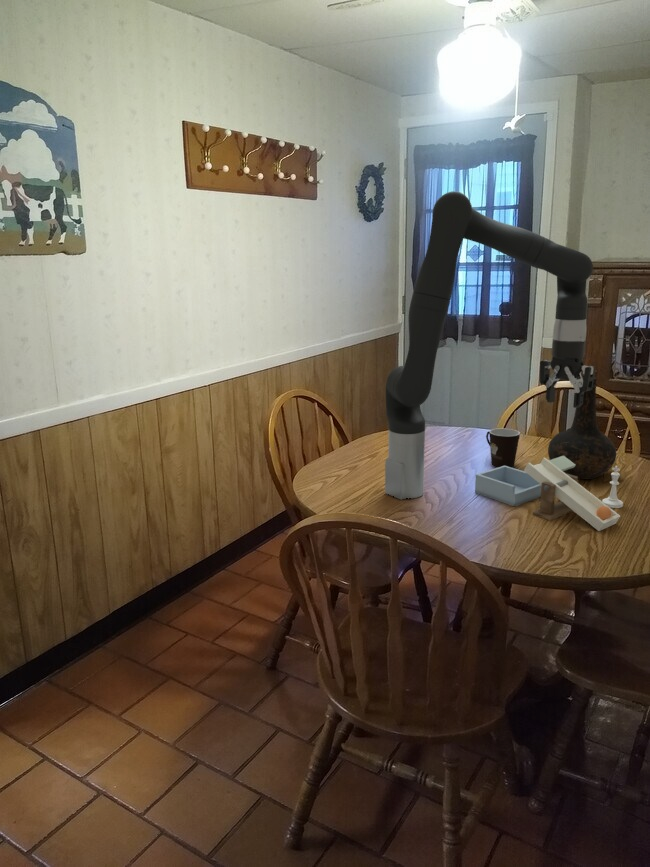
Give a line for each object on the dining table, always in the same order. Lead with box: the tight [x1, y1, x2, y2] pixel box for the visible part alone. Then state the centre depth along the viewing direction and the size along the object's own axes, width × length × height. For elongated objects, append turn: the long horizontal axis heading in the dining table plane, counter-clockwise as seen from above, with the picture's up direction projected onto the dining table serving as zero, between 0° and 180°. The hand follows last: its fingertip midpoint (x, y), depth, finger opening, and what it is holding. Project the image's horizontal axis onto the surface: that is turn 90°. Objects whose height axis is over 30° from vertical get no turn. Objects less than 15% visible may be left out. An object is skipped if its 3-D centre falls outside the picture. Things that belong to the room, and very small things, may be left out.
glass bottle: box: [547, 374, 617, 480], centre depth 183 cm, size 18×18×28 cm
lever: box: [523, 456, 621, 532], centre depth 160 cm, size 23×16×2 cm
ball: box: [596, 506, 612, 520], centre depth 151 cm, size 3×3×3 cm
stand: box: [532, 474, 579, 521], centre depth 160 cm, size 5×13×8 cm, turn 127°
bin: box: [474, 466, 542, 507], centre depth 171 cm, size 12×13×5 cm
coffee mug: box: [485, 427, 521, 468], centre depth 195 cm, size 12×9×10 cm
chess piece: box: [601, 465, 624, 509], centre depth 163 cm, size 5×5×10 cm
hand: (563, 404), depth 165 cm, fingers open, 7 cm apart
